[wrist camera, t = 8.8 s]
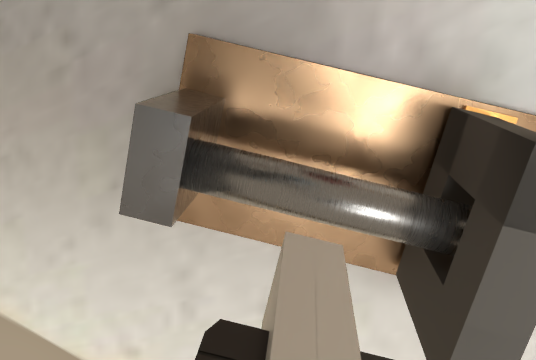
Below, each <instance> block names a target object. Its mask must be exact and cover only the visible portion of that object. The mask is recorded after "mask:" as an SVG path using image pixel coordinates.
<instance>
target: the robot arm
mask: <svg viewBox="0 0 536 360" xmlns="http://www.w3.org/2000/svg"><path fill="white" fill-rule="evenodd" d="M195 360H393V359H389V358H385V357H381V356H377V355H372V354H368V353H364V352H360V349H359V342H358V336H357V330H356V324H355V318H354V312H353V306H352V299H351V293H350V287H349V281H348V275H347V269H346V262H345V256H344V250H343V245H340V244H336V243H331V242H327V241H323V240H319V239H315V238H311V237H307V236H303V235H298V234H294V233H290V232H285V236H284V240H283V244H282V248H281V252H280V256H279V259H278V263H277V267H276V271H275V275H274V279H273V283H272V287H271V291H270V295H269V298H268V302H267V306H266V310H265V314H264V318H263V322H262V328H261V329H259V328H255V327H251V326H247V325H242V324H238V323H234V322H230V321H226V320H222V319H220V320H219V321H218V322H216V323H215V324H214V325H213V326H212V327H210V328H209V329H208V330H207V331H205V333H204V336H203V339H202V342H201V344H200V347H199V350H198V354H197V356H196V358H195Z"/></svg>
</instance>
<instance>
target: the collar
mask: <svg viewBox="0 0 536 360" xmlns="http://www.w3.org/2000/svg"><path fill="white" fill-rule="evenodd" d="M423 194H425V195H429V196H433V197H437V198H441V199H445V200H450V201H454V202H458V203H462V204H466V205H470V206H473V207H472V209H471V212H470V215H469V217H468V220H467V223H466V226H465V228H464V231H463V234H462V236H461V239H460V242H459V245H458V247H457V250H456V253H455V255H454V256H452V255H448V254H444V253H440V252H436V251H432V250H428V249H424V248H420V247H416V246H412V245H408V244H406V245H405V248H404V251H403V254H402V257H401V260H400V263H399V266H398V269H397V272H396V276H397V279H398V281H399V284H400V287H401V290H402V292H403V295H404V298H405V301H406V304H407V306H408V309H409V312H410V315H411V318H412V320H413V323H414V326H415V329H416V331H417V334H418V337H419V340H420V343H421V345H422V348H423V351H424V354H425V357H426V359H427V360H521V357H522V355H523V353H524V350H525V348H526V346H527V344H528V341H529V339H530V337H531V335H532V332H533V330H534V328H535V326H536V132H534V131H531V130H529V129H526V128H524V127H521V126H518V125H516V124H513V123H510V122H508V121H505V120H502V119H500V118H497V117H493V116H489V115H485V114H481V113H476V112H472V111H468V110H464V109H460V108H455V107H452V108H451V111H450V114H449V117H448V120H447V123H446V126H445V129H444V132H443V135H442V138H441V141H440V144H439V147H438V150H437V153H436V156H435V159H434V162H433V165H432V168H431V171H430V174H429V177H428V180H427V183H426V186H425V189H424V192H423Z"/></svg>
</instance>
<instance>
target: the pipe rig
mask: <svg viewBox="0 0 536 360" xmlns="http://www.w3.org/2000/svg"><path fill="white" fill-rule="evenodd" d="M452 107H455V108H460V109H464V110H468V111H472V112H476V113H481V114H485V115H489V116H493V117H497V118H500V119H502V120H505V121H508V122H510V123H513V124H516V125H518V126H521V127H524V128H526V129H529V130H531V131H534V132H536V115H532V114H528V113H523V112H519V111H515V110H511V109H507V108H502V107H498V106H494V105H490V104H486V103H481V102H477V101H473V100H469V99H465V98H460V97H456V96H452V95H448V94H444V93H439V92H435V91H431V90H427V89H423V88H418V87H414V86H410V85H406V84H402V83H397V82H393V81H389V80H385V79H381V78H376V77H372V76H368V75H364V74H360V73H355V72H351V71H347V70H343V69H339V68H334V67H330V66H326V65H322V64H317V63H313V62H309V61H305V60H301V59H296V58H292V57H288V56H284V55H280V54H275V53H271V52H267V51H263V50H259V49H254V48H250V47H246V46H242V45H238V44H233V43H229V42H225V41H221V40H217V39H212V38H208V37H204V36H200V35H196V34H190V33H189V35H188V41H187V47H186V52H185V58H184V64H183V70H182V76H181V81H180V87H179V90H177V91H174V92H171V93H168V94H164V95H161V96H158V97H155V98H151V99H148V100H145V101H142V102H138V103H136V104H135V110H134V117H133V124H132V131H131V137H130V144H129V151H128V158H127V164H126V171H125V178H124V184H123V191H122V198H121V205H120V211H119V214H121V215H125V216H129V217H133V218H137V219H141V220H145V221H149V222H153V223H157V224H161V225H165V226H169V227H172V226H173V225H174V223H175V222H176V221H181V222H185V223H189V224H193V225H197V226H201V227H205V228H209V229H213V230H217V231H221V232H225V233H229V234H233V235H237V236H241V237H245V238H249V239H253V240H257V241H261V242H265V243H269V244H273V245H277V246H281V247H282V244H283V240H284V236H285V232H290V233H294V234H298V235H303V236H307V237H311V238H315V239H319V240H323V241H327V242H331V243H336V244H340V245H343V250H344V256H345V262H346V263H349V264H353V265H357V266H361V267H365V268H369V269H373V270H377V271H381V272H385V273H389V274H393V275H396V272H397V269H398V266H399V263H400V260H401V257H402V254H403V251H404V248H405V245H406V244H408V245H412V246H416V247H420V248H424V249H428V250H432V251H436V252H440V253H444V254H448V255H452V256H454V255H455V253H456V250H457V247H458V245H459V242H460V239H461V236H462V234H463V231H464V228H465V226H466V223H467V220H468V217H469V215H470V212H471V209H472V207H473V206H470V205H466V204H462V203H458V202H454V201H450V200H445V199H441V198H437V197H433V196H429V195H425V194H423V192H424V189H425V186H426V183H427V180H428V177H429V174H430V171H431V168H432V165H433V162H434V159H435V156H436V153H437V150H438V147H439V144H440V141H441V138H442V135H443V132H444V129H445V126H446V123H447V120H448V117H449V114H450V111H451V108H452Z"/></svg>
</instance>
